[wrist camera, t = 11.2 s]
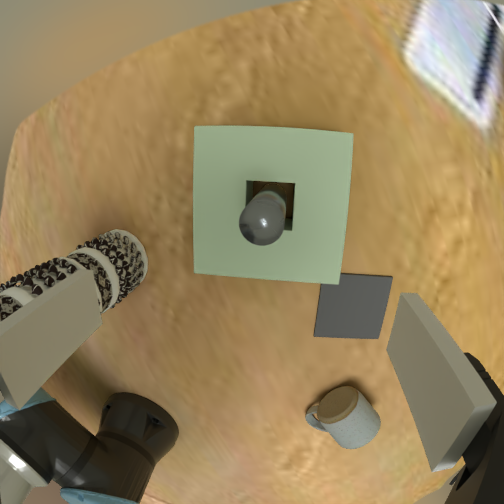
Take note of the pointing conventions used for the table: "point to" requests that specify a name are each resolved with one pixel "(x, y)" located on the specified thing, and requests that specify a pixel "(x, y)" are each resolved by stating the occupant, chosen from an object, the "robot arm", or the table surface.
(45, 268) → the decorative candle
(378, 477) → the table surface
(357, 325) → the mat
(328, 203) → the socket block
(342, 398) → the ceramic mug
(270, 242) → the pin
